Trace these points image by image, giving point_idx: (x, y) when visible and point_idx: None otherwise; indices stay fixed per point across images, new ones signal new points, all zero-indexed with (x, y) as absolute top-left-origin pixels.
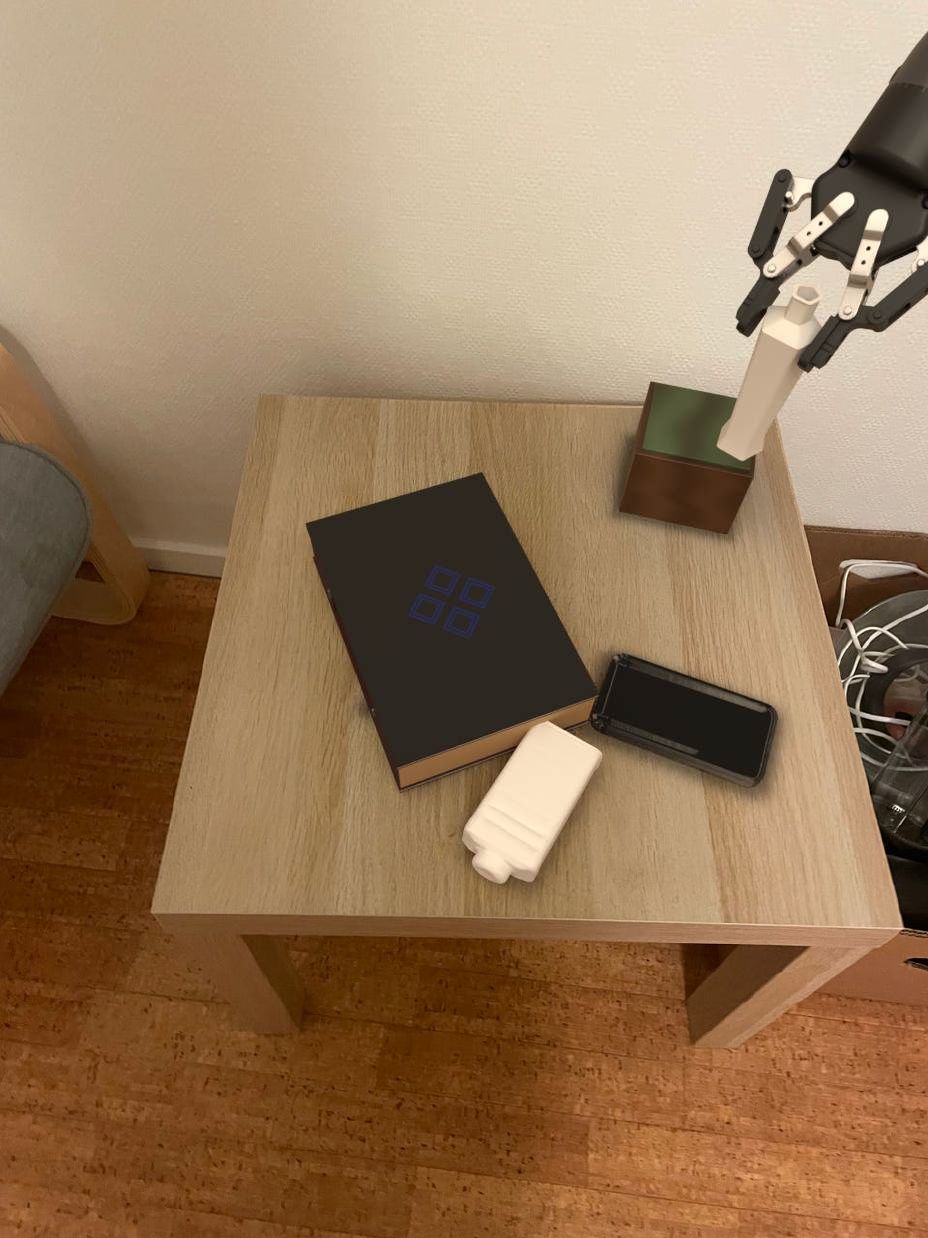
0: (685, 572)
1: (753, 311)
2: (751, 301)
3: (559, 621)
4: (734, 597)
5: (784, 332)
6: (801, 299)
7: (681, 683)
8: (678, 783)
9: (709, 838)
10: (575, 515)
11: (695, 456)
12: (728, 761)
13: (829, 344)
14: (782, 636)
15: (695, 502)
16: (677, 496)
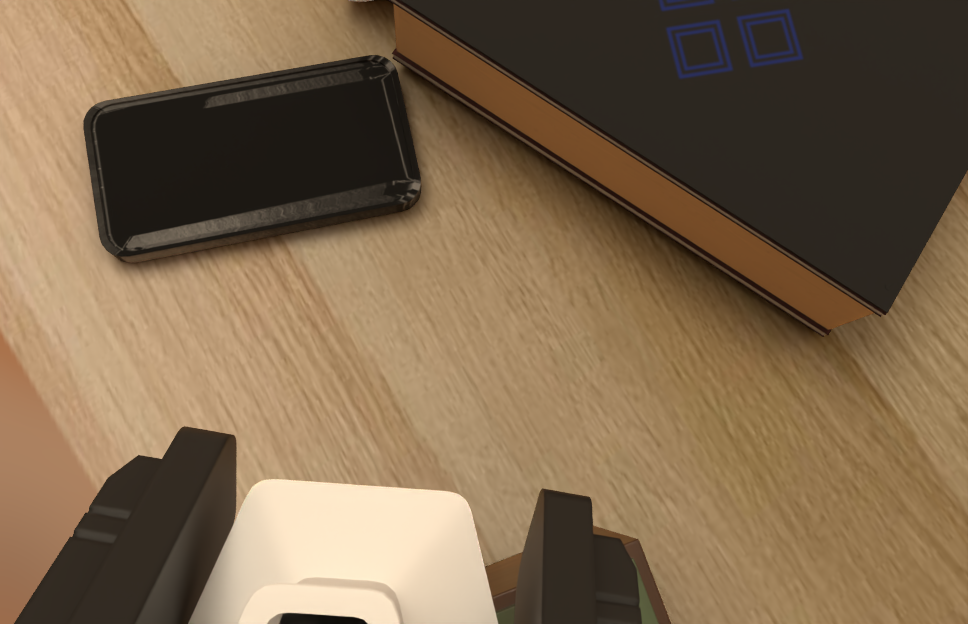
0: (397, 463)
1: (557, 555)
2: (601, 619)
3: (532, 81)
4: (283, 466)
5: (354, 524)
6: (323, 599)
7: (287, 206)
8: (215, 61)
9: (133, 8)
10: (661, 458)
11: (506, 616)
12: (150, 118)
13: (100, 545)
14: (161, 436)
15: None
16: (497, 575)
